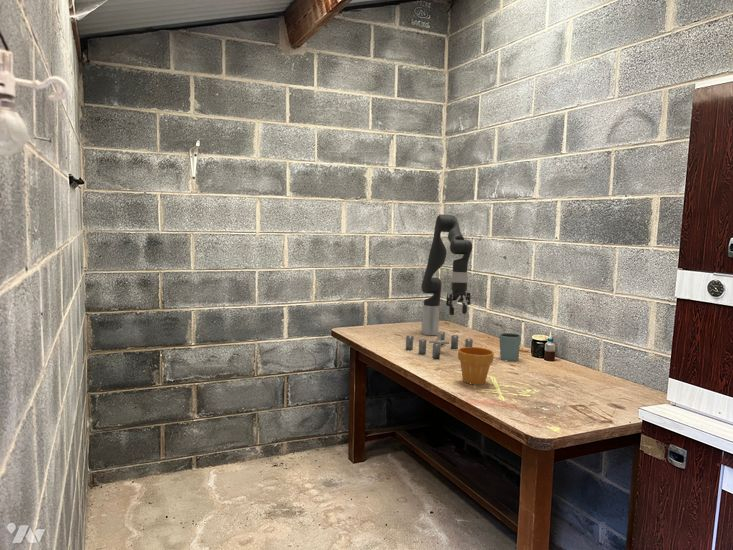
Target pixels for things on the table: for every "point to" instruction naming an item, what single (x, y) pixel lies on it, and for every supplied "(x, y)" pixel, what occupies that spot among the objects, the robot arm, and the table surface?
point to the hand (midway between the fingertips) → (457, 314)
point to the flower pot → (475, 364)
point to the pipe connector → (439, 340)
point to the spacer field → (436, 345)
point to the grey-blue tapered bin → (509, 346)
